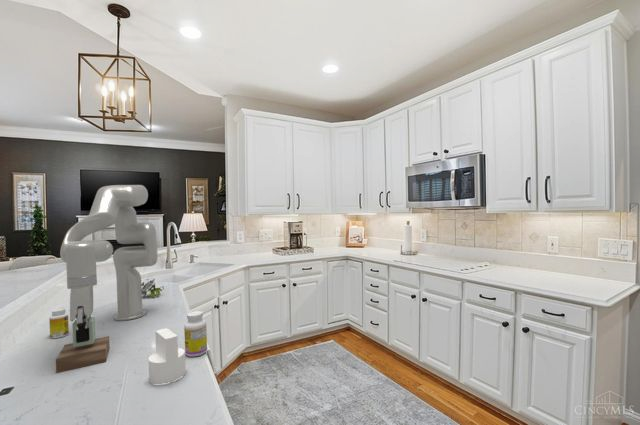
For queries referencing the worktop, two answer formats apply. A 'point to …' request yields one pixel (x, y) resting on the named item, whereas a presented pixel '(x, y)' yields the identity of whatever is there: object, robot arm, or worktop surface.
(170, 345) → the base with upright slab
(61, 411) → the worktop surface
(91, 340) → the sage block
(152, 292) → the passion flower
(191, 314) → the supplement bottle
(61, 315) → the supplement bottle
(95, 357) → the walnut base
